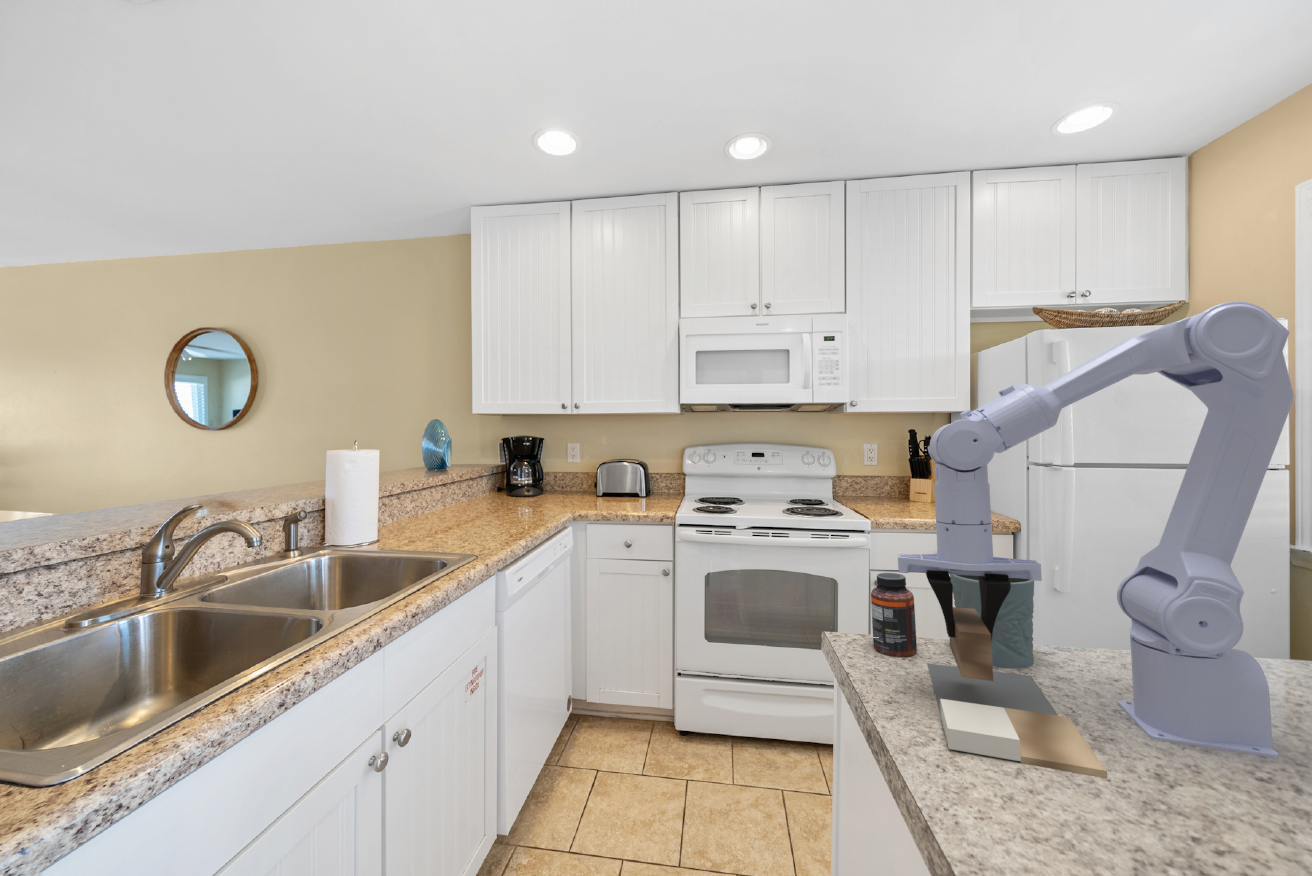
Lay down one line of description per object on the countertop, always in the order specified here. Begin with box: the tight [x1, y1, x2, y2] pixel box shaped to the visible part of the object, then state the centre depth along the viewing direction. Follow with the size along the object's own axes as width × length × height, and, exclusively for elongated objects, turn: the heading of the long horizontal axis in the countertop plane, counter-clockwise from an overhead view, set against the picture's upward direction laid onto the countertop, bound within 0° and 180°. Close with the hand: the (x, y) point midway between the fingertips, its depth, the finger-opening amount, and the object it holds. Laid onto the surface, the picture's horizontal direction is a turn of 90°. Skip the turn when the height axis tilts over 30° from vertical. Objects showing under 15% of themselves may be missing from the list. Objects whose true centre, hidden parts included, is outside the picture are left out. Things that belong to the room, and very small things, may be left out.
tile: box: [940, 699, 1021, 762], centre depth 53 cm, size 6×2×6 cm
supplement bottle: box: [870, 572, 918, 658], centre depth 77 cm, size 6×6×11 cm
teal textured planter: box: [949, 574, 1035, 670], centre depth 73 cm, size 10×10×12 cm
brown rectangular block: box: [949, 606, 994, 681], centre depth 61 cm, size 3×10×5 cm, turn 157°
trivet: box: [1002, 707, 1108, 779], centre depth 52 cm, size 6×10×1 cm, turn 157°
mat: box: [926, 663, 1059, 746], centre depth 59 cm, size 12×21×1 cm, turn 157°
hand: (968, 636), depth 61 cm, fingers closed on brown rectangular block, 3 cm apart
